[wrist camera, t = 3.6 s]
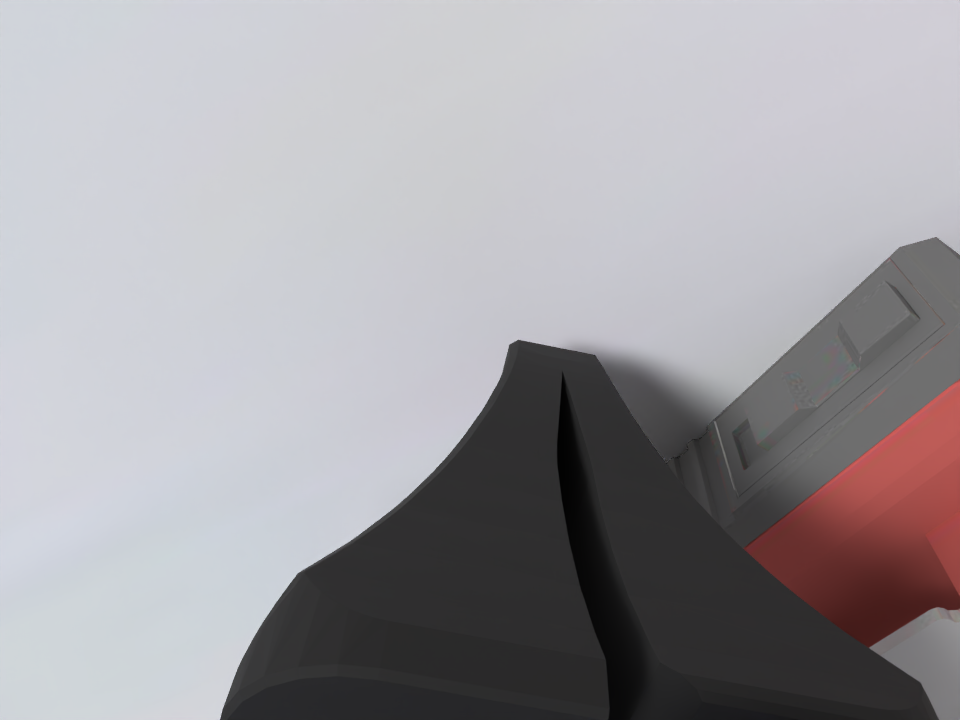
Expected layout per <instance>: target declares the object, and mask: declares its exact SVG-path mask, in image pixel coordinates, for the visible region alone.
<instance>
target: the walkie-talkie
mask: <svg viewBox="0 0 960 720" xmlns="http://www.w3.org/2000/svg"><path fill="white" fill-rule="evenodd" d="M707 427H708V432H707V433H706V434H705V435H704V436H703V437H701V438H700V439H699V440H694V439H693V440H691V441H690V442H689V443H688V444H687V446H688V450H687V451H686V452H685V453H684V454H683V455H682V456H681V457H680V458H679V459H678V458H674V457H673V458H672V459H671V460H670V461H669V462H668V467H669V468H670V469H671V470H672V472H673V473H674V474H675V476H676V477H677V478H678V479H679V481H680V482H681V483H682V484H683V486H684V487H685V488H686V489H687V490H688V491H689V493H690V494H691V495H692V496H693V497H694V498H695V500H696V501H697V502H698V503H699V504H700V505H701V506H702V507H703V508H704V509H705V510H706V511H707V512H708V513H709V515H710V516H711V517H712V518H713V519H714V520H715V521H716V522H717V523H718V524H719V525H720V526H721V527H722V528H723V529H724V530H725V531H726V532H727V533H728V534H729V535H730V536H731V537H732V538H733V539H734V540H735V541H736V542H737V543H738V544H739V545H740V546H741V547H742V548H743V549H744V550H745V551H746V552H748V553H749V554H750V555H751V556H752V557H753V558H754V559H755V560H756V561H758V562H759V563H760V564H761V565H762V566H763V567H764V568H765V569H766V570H767V571H769V572H770V573H771V574H772V575H773V576H774V577H775V578H777V579H778V580H779V581H780V582H781V583H783V584H784V585H785V586H786V587H787V588H789V589H790V590H791V591H792V592H794V593H795V594H796V595H797V596H798V597H800V598H801V599H802V600H804V601H805V602H806V603H807V604H809V605H810V606H811V607H813V608H814V609H815V610H817V611H818V612H819V613H821V614H822V615H823V616H824V617H826V618H827V619H828V620H830V621H831V622H832V623H834V624H835V625H836V626H838V627H839V628H840V629H842V630H843V631H844V632H846V633H847V634H849V635H850V636H852V637H853V638H855V639H856V640H858V641H859V642H861V643H862V644H864V645H865V646H867V647H868V648H870V649H871V650H873V651H874V652H876V653H877V654H879V655H880V656H882V657H883V658H885V659H886V660H888V661H889V662H891V663H892V664H894V665H895V666H897V667H898V668H900V669H901V670H903V671H904V672H906V673H907V674H909V675H910V676H912V677H913V678H915V679H916V680H918V681H919V682H921V684H922V686H923V688H924V690H925V692H926V694H927V696H928V698H929V700H930V702H931V704H932V706H933V708H934V710H935V712H936V714H937V717H938V719H939V720H960V255H959V254H958V253H956V252H955V251H954V250H952V249H951V248H950V247H948V246H947V245H946V244H944V243H943V242H942V241H941V240H939V239H938V238H937V237H935V238H931V239H928V240H924V241H920V242H917V243H913V244H910V245H906V246H902V247H899V248H898V249H897V250H896V251H895V252H894V253H893V254H892V255H891V256H890V257H889V258H888V259H887V260H886V261H884V262H883V263H882V264H881V265H880V266H879V267H878V268H877V269H876V270H875V271H874V272H873V273H872V274H870V275H869V276H868V277H867V278H866V279H865V280H864V281H863V282H862V283H861V284H860V285H859V286H858V287H856V288H855V289H854V290H853V291H852V292H851V293H850V294H849V295H848V296H847V297H846V298H845V299H843V300H842V301H841V302H840V303H839V304H838V305H837V306H836V307H835V308H834V309H833V310H832V311H831V312H829V313H828V314H827V315H826V316H825V317H824V318H823V319H822V320H821V321H820V322H819V323H818V324H817V325H815V326H814V327H813V328H812V329H811V330H810V331H809V332H808V333H807V334H806V335H805V336H804V337H803V338H801V339H800V340H799V341H798V342H797V343H796V344H795V345H794V346H793V347H792V348H791V349H790V350H788V351H787V352H786V353H785V354H784V355H783V356H782V357H781V358H780V359H779V360H778V361H777V362H776V363H774V364H773V365H772V366H771V367H770V368H769V369H768V370H767V371H766V372H765V373H764V374H763V375H762V376H760V377H759V378H758V379H757V380H756V381H755V382H754V383H753V384H752V385H751V386H750V387H749V388H748V389H746V390H745V391H744V392H743V393H742V394H741V395H740V396H739V397H738V398H737V399H736V400H735V401H733V402H732V403H731V404H730V405H729V406H728V407H727V408H726V409H725V410H724V411H723V412H722V413H721V414H719V415H718V416H717V417H716V418H715V419H714V420H713V421H712V422H711V423H710V424H709V425H708V426H707Z"/></svg>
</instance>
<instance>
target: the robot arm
mask: <svg viewBox="0 0 960 720" xmlns="http://www.w3.org/2000/svg"><path fill="white" fill-rule="evenodd" d="M220 720H939V719H938V717H937V714H936V712H935V710H934V708H933V706H932V704H931V702H930V700H929V698H928V696H927V694H926V692H925V690H924V688H923V686H922V684H921V682H919V681H918V680H916V679H915V678H913V677H912V676H910V675H909V674H907V673H906V672H904V671H903V670H901V669H900V668H898V667H897V666H895V665H894V664H892V663H891V662H889V661H888V660H886V659H885V658H883V657H882V656H880V655H879V654H877V653H876V652H874V651H873V650H871V649H870V648H868V647H867V646H865V645H864V644H862V643H861V642H859V641H858V640H856V639H855V638H853V637H852V636H850V635H849V634H847V633H846V632H844V631H843V630H842V629H840V628H839V627H838V626H836V625H835V624H834V623H832V622H831V621H830V620H828V619H827V618H826V617H824V616H823V615H822V614H821V613H819V612H818V611H817V610H815V609H814V608H813V607H811V606H810V605H809V604H807V603H806V602H805V601H804V600H802V599H801V598H800V597H798V596H797V595H796V594H795V593H794V592H792V591H791V590H790V589H789V588H787V587H786V586H785V585H784V584H783V583H781V582H780V581H779V580H778V579H777V578H775V577H774V576H773V575H772V574H771V573H770V572H769V571H767V570H766V569H765V568H764V567H763V566H762V565H761V564H760V563H759V562H758V561H756V560H755V559H754V558H753V557H752V556H751V555H750V554H749V553H748V552H746V551H745V550H744V549H743V548H742V547H741V546H740V545H739V544H738V543H737V542H736V541H735V540H734V539H733V538H732V537H731V536H730V535H729V534H728V533H727V532H726V531H725V530H724V529H723V528H722V527H721V526H720V525H719V524H718V523H717V522H716V521H715V520H714V519H713V518H712V517H711V516H710V515H709V513H708V512H707V511H706V510H705V509H704V508H703V507H702V506H701V505H700V504H699V503H698V502H697V501H696V500H695V498H694V497H693V496H692V495H691V494H690V493H689V491H688V490H687V489H686V488H685V487H684V486H683V484H682V483H681V482H680V481H679V479H678V478H677V477H676V476H675V474H674V473H673V472H672V470H671V469H670V468H669V467H668V465H667V464H666V463H665V462H664V460H663V459H662V458H661V456H660V455H659V454H658V452H657V451H656V450H655V448H654V447H653V445H652V444H651V443H650V441H649V440H648V439H647V437H646V436H645V434H644V433H643V431H642V430H641V428H640V427H639V425H638V424H637V422H636V421H635V419H634V418H633V416H632V415H631V413H630V411H629V410H628V408H627V407H626V405H625V403H624V402H623V400H622V398H621V397H620V395H619V394H618V392H617V390H616V389H615V387H614V385H613V384H612V382H611V380H610V379H609V377H608V375H607V374H606V372H605V370H604V369H603V367H602V365H601V364H600V362H599V361H598V359H597V357H596V356H595V355H592V354H587V353H582V352H577V351H572V350H567V349H561V348H556V347H551V346H546V345H541V344H536V343H531V342H526V341H521V340H517V341H516V342H514V343H512V344H510V345H509V349H508V353H507V357H506V361H505V365H504V369H503V373H502V376H501V378H500V380H499V382H498V384H497V386H496V388H495V389H494V391H493V393H492V395H491V396H490V398H489V400H488V402H487V403H486V405H485V407H484V408H483V410H482V411H481V413H480V414H479V416H478V417H477V419H476V420H475V421H474V423H473V424H472V425H471V427H470V428H469V430H468V431H467V432H466V434H465V435H464V437H463V438H462V439H461V441H460V442H459V443H458V444H457V445H456V447H455V448H454V449H453V450H452V452H451V453H450V454H449V455H448V456H447V457H446V459H445V460H444V461H443V462H442V463H441V464H440V465H439V466H438V467H437V468H436V469H435V471H434V472H433V473H432V474H431V475H430V476H429V477H428V478H427V479H426V480H424V481H423V482H422V483H421V484H420V485H419V486H418V487H417V488H416V489H415V490H414V491H413V492H412V493H411V494H410V495H409V496H408V497H407V498H405V499H404V500H403V501H402V502H401V503H400V504H399V505H397V506H396V507H395V508H394V509H393V510H391V511H390V512H389V513H387V514H386V515H385V516H383V517H382V518H381V519H380V520H378V521H377V522H376V523H374V524H373V525H372V526H370V527H369V528H368V529H366V530H365V531H364V532H362V533H361V534H360V535H359V536H357V537H356V538H354V539H353V540H351V541H350V542H348V543H347V544H345V545H344V546H342V547H340V548H339V549H337V550H336V551H334V552H332V553H331V554H329V555H327V556H326V557H324V558H322V559H321V560H319V561H318V562H316V563H314V564H313V565H311V566H309V567H308V568H306V569H304V570H303V571H301V572H299V573H298V574H297V575H296V577H295V578H294V579H293V581H292V582H291V583H290V585H289V586H288V587H287V589H286V590H285V592H284V593H283V594H282V596H281V597H280V598H279V600H278V601H277V602H276V604H275V605H274V607H273V608H272V610H271V611H270V613H269V614H268V616H267V617H266V619H265V620H264V622H263V623H262V625H261V626H260V628H259V630H258V632H257V633H256V635H255V637H254V638H253V640H252V642H251V644H250V646H249V647H248V649H247V651H246V653H245V655H244V657H243V659H242V661H241V663H240V665H239V667H238V669H237V672H236V675H235V677H234V680H233V683H232V686H231V688H230V691H229V694H228V697H227V699H226V702H225V705H224V707H223V711H222V715H221V719H220Z"/></svg>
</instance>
